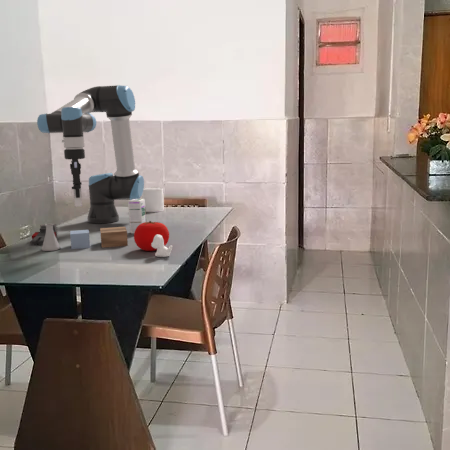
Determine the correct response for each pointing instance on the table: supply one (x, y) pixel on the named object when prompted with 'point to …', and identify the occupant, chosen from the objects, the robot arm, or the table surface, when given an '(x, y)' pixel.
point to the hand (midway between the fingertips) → (78, 203)
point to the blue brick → (80, 239)
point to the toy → (42, 235)
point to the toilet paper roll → (153, 199)
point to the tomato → (150, 234)
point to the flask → (50, 239)
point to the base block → (113, 237)
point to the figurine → (161, 247)
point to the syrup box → (136, 213)
